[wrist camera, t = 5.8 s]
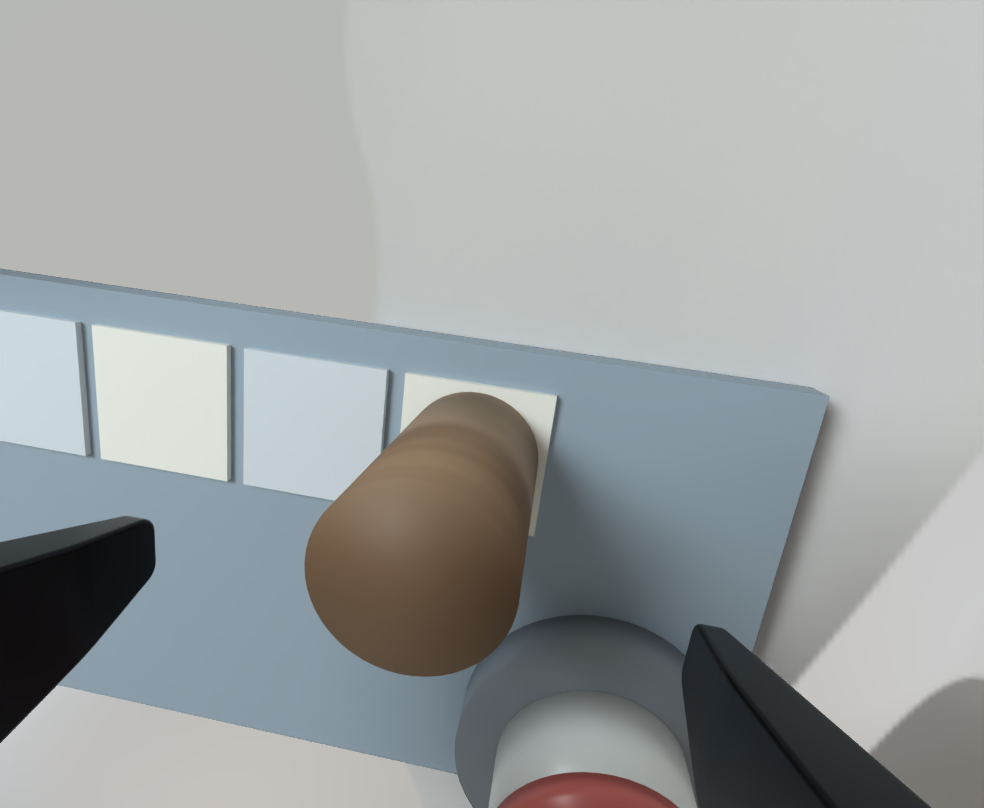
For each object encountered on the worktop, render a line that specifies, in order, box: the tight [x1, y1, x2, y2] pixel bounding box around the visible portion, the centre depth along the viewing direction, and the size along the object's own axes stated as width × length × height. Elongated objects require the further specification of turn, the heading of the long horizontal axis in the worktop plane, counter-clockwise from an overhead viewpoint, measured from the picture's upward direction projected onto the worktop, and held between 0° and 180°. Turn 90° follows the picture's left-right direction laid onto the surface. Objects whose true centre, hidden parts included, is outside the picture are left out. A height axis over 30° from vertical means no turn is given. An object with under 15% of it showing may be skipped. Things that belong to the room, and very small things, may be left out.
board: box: [0, 269, 829, 808], centre depth 16 cm, size 15×24×2 cm, turn 83°
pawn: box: [304, 392, 538, 677], centre depth 12 cm, size 4×4×6 cm
